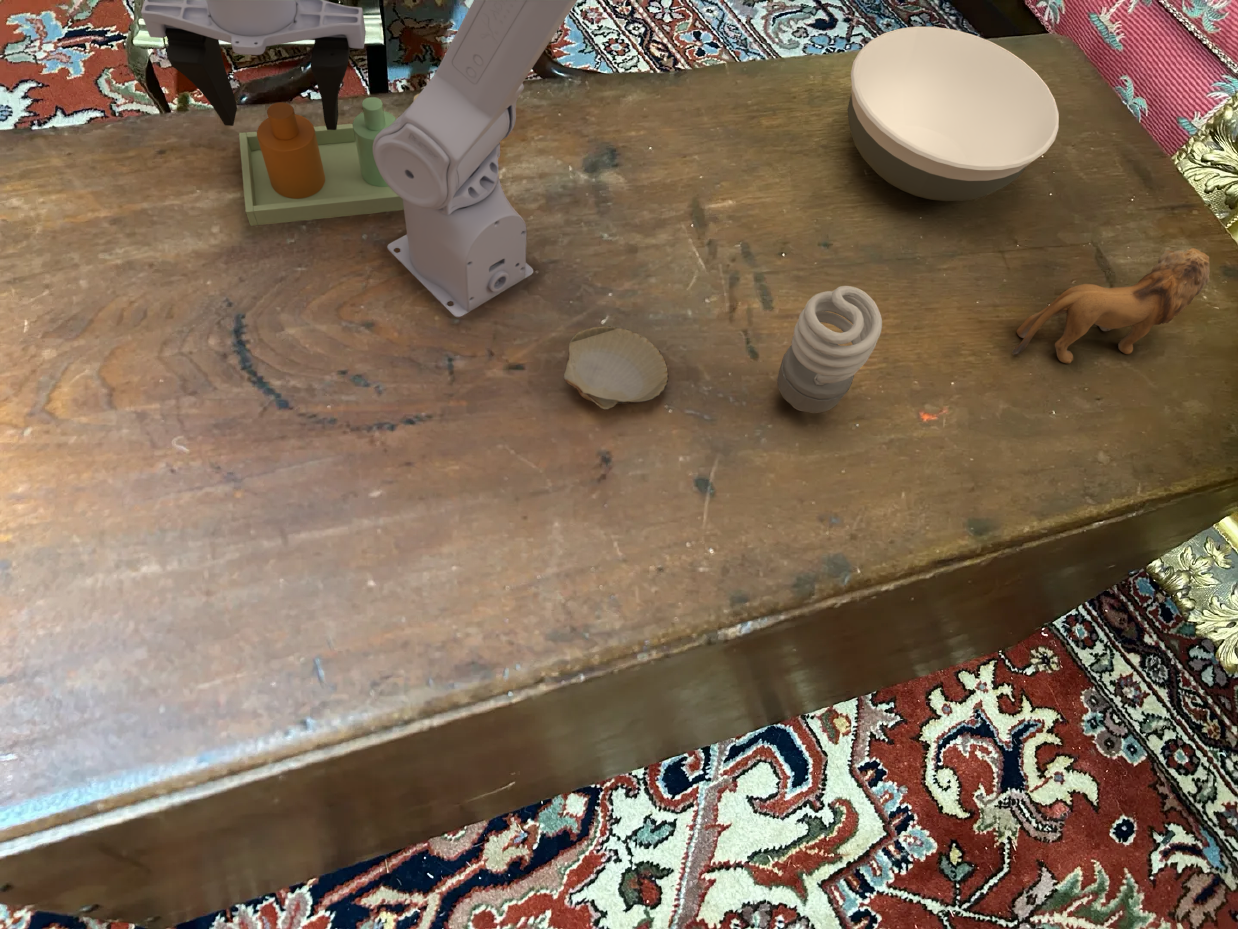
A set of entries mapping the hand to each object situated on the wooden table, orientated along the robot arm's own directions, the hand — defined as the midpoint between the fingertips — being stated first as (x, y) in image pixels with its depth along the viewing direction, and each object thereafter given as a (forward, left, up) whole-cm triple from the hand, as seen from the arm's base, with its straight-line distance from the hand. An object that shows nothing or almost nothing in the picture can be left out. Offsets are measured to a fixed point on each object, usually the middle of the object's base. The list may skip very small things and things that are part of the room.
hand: (282, 119), depth 71 cm
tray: (-3, -5, -7) cm, 9 cm away
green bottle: (-3, -6, -6) cm, 9 cm away
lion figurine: (-53, -42, -7) cm, 68 cm away
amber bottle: (0, 0, -6) cm, 6 cm away
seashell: (-31, -7, -7) cm, 33 cm away
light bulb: (-42, -17, -7) cm, 46 cm away
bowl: (-31, -47, -7) cm, 57 cm away
